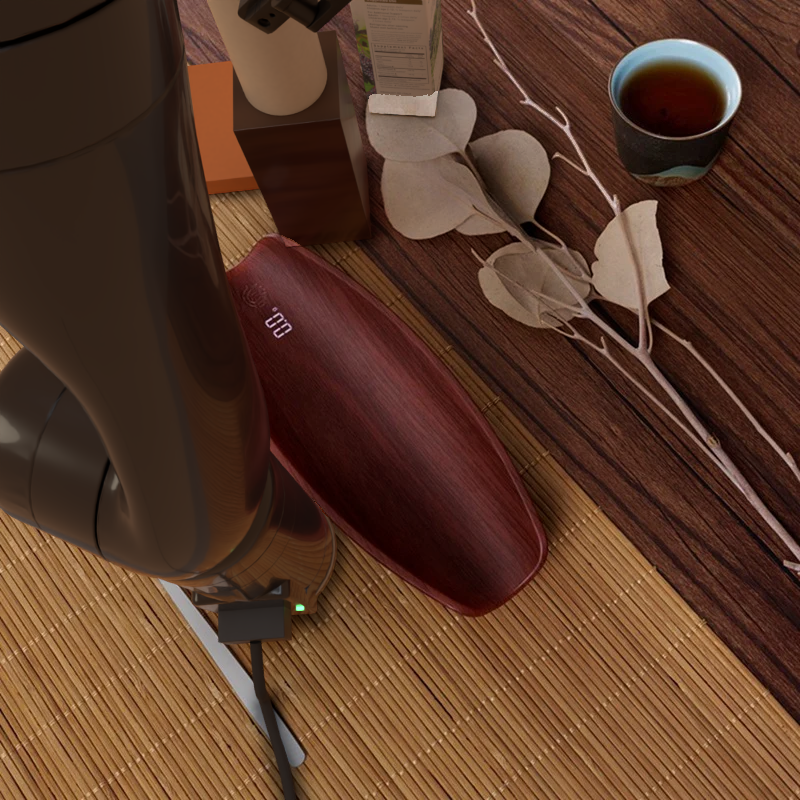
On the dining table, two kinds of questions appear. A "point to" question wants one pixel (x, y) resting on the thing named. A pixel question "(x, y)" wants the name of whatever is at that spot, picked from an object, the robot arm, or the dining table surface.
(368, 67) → the syrup box
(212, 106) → the stand
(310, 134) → the column
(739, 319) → the dining table surface
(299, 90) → the white bottle
